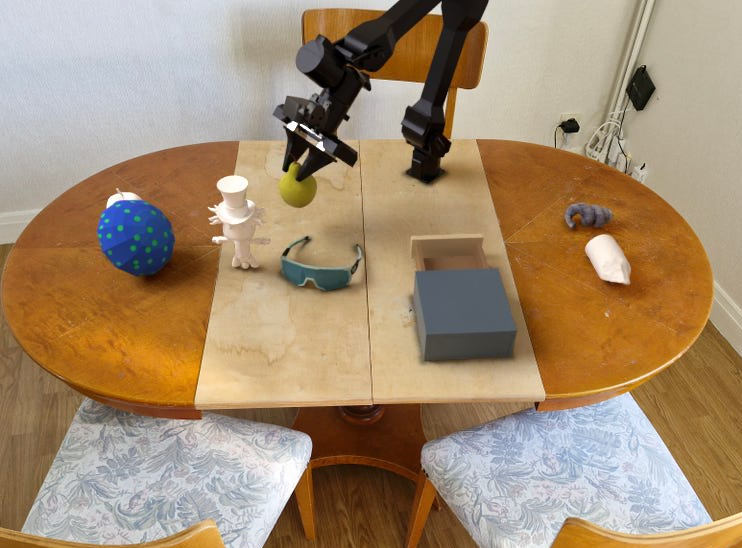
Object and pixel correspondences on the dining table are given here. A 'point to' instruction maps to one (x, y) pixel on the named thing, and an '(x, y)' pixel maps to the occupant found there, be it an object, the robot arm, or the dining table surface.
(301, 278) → the sunglasses
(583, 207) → the seashell
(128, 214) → the polka dot ball
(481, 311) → the cabinet
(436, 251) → the drawer
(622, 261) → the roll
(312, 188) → the fruit
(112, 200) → the plain white apple
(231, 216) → the figurine
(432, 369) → the dining table surface
